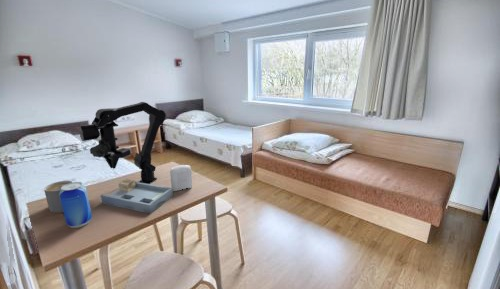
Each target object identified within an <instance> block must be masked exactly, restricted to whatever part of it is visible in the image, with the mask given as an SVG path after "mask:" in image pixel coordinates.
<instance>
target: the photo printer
mask: <svg viewBox="0 0 500 289" xmlns="http://www.w3.org/2000/svg"><path fill="white" fill-rule="evenodd" d="M169 173H170V185H171V186H170V188H172V190H173V192H176V191H182V189H183V190H187V189H186V188H188V189H191V188H190V187H192V188H193V176H192V168H191V165H187V164H180V165H176V166H173V167H171V168H170V172H169Z"/></svg>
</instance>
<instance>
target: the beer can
mask: <svg viewBox="0 0 500 289" xmlns="http://www.w3.org/2000/svg"><path fill="white" fill-rule="evenodd" d="M59 195H60V200H61V204H62V208H63V212H62V213H63V215H64V220H65V224H66V226H68V227H69V228H71V229H78V228H81V227H84V226H86V225H88V224H89V223H90V222H91V220H92V218H93V215H92V210H91V205H90V200H89V195H88V191H87V188H86V186H84V185H83V183H82V182H79V181H72V183H68V184H66V185H64V186H62V187H61V191H60V194H59Z"/></svg>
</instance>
